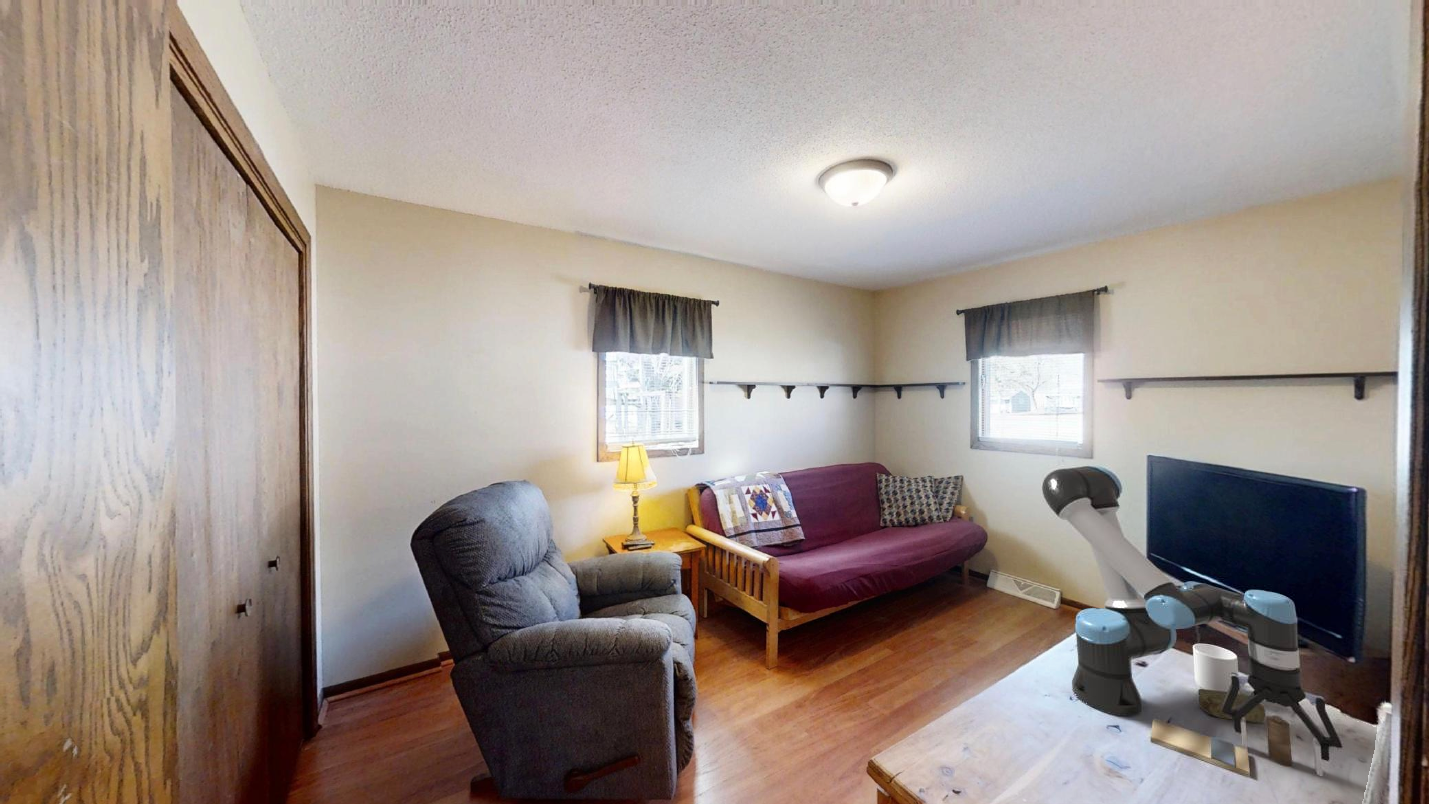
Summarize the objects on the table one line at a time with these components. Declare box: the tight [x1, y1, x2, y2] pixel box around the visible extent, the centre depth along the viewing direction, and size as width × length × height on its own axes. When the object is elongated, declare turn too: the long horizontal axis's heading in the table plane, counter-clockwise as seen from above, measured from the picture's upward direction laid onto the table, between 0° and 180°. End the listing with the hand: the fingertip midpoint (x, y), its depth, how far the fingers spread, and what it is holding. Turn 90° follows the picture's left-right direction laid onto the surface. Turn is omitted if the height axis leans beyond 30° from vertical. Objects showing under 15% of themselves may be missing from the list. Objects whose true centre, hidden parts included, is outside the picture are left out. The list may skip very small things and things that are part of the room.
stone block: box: [1198, 688, 1266, 724], centre depth 121 cm, size 6×12×5 cm, turn 71°
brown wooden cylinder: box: [1265, 714, 1293, 767], centre depth 106 cm, size 3×3×10 cm
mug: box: [1192, 643, 1240, 694], centre depth 132 cm, size 9×12×11 cm
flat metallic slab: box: [1150, 718, 1251, 778], centre depth 119 cm, size 16×34×2 cm, turn 133°
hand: (1280, 759), depth 106 cm, fingers open, 10 cm apart
